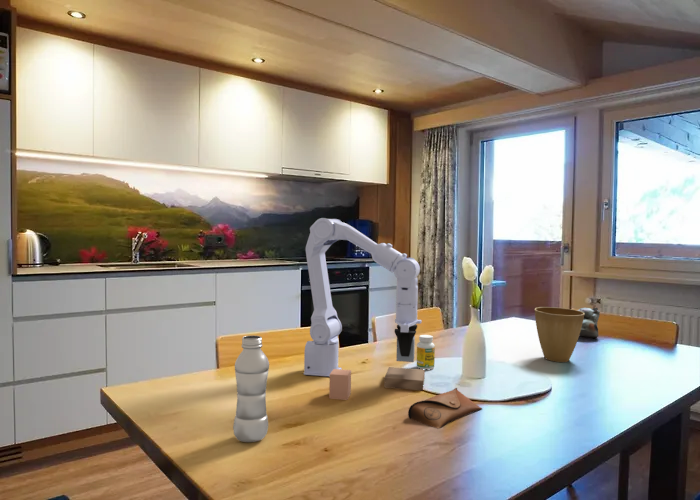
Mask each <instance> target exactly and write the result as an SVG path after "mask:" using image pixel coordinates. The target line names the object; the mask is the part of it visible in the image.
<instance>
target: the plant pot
mask: <svg viewBox="0 0 700 500" xmlns="http://www.w3.org/2000/svg"><path fill="white" fill-rule="evenodd" d="M577 310H578V309H571V308H563V307H556V306H555V307H550V306H539V307H535V308H534V314H535V315H534V317H535V319H534V321H535V326H536V331H537V336H538V341H539V344H540V349H541V351H542V355H543V356H544V359H545V360H548V361H550V362H556V363H557V362H558V363H567V362H569V361H570V359H571V357H572V355H573V353H574V350H575V348H576V346H577V344H578V340H579V337H580V336H579V335H580V331H581V327H582V323H583V319H584V313H583V312H581V311H577Z"/></svg>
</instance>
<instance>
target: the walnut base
mask: <svg viewBox="0 0 700 500" xmlns="http://www.w3.org/2000/svg"><path fill="white" fill-rule="evenodd" d="M425 371H426V370H423V369H419V368H407V367H390V366H388V369H387V370H386V373H385V376H384V377H383V379H384V380H383V382H384V384H383V387H384V388H388V389H399V390H400V389H401V390H412V391H424V386H423V385H424V384H425V377H426V376H425V373H426V372H425Z"/></svg>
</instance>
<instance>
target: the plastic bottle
mask: <svg viewBox="0 0 700 500" xmlns="http://www.w3.org/2000/svg"><path fill="white" fill-rule="evenodd" d="M262 338H263V337H262V336H260V335H245V336H243V337H241V341H242V342H241V348H242V351H241V352H240V354H239V355H238V357H237V358H236V360H235V363H234V373H235V382H236V393H237V394H236V397H237V398H236V409H235V416H234V419H233V427H232V428H233V429H232V430H233V435H234V436H235V438H236V439H237V441H240V442H243V443H255V442H259V441H261V440H263V439H264V438H265V437H266V436H267V434H268V429H269V417H268V413H267V403H266V401H267V400H266V397H267V396H266V395H267V394H266V393H267V392H266V391H267V383H268V382H267V381H268V377H269V372H270V371H269V369H270V362H269V358H268V357H267V355H266V354H265V353H264V351H263V350H262V347H263V341H262V340H263V339H262Z"/></svg>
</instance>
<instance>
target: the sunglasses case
mask: <svg viewBox="0 0 700 500" xmlns="http://www.w3.org/2000/svg"><path fill="white" fill-rule="evenodd" d="M482 409H483V408H482V407H480V406H479V405H478V404H476V403H474V402H473V401H472V400H471V399H470V398H469V397H467V396H466V395H464V394H463V392H461V391H460V390H458V387H455V388H454V389H451V390H449V391H446V392H443V393H440V394H439V393H438V394H437V395H434V396H431V397H428V398H427V399H423V400H418V401H416V402H413V404H412V405H411V406H410V407H409V408H408V412H407V413H408V414H407V416H408V418H409V419H410V420H412V421H415V422H418V423H421V424H423V425H426V426H429V427H433V428H436V429H441V428H443V427H444V426H446V425H448V424H450V423H452V422H454V421H456V420H458V419H461V418H463V417H465V416H467V415H470V414H472V413H475V412H478V411H479V412H480V411H481V410H482Z"/></svg>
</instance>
